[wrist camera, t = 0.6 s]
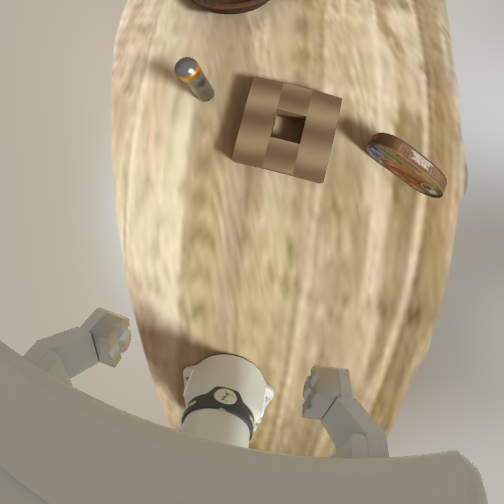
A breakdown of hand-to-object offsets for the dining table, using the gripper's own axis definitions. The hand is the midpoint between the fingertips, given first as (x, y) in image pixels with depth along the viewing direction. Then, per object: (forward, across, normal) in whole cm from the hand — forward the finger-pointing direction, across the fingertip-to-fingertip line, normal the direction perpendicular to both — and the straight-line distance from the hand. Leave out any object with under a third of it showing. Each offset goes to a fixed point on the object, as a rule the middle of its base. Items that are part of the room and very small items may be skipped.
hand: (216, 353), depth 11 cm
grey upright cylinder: (+40, -15, +12) cm, 45 cm away
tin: (+40, +20, +7) cm, 45 cm away
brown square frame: (+40, 0, +8) cm, 40 cm away
